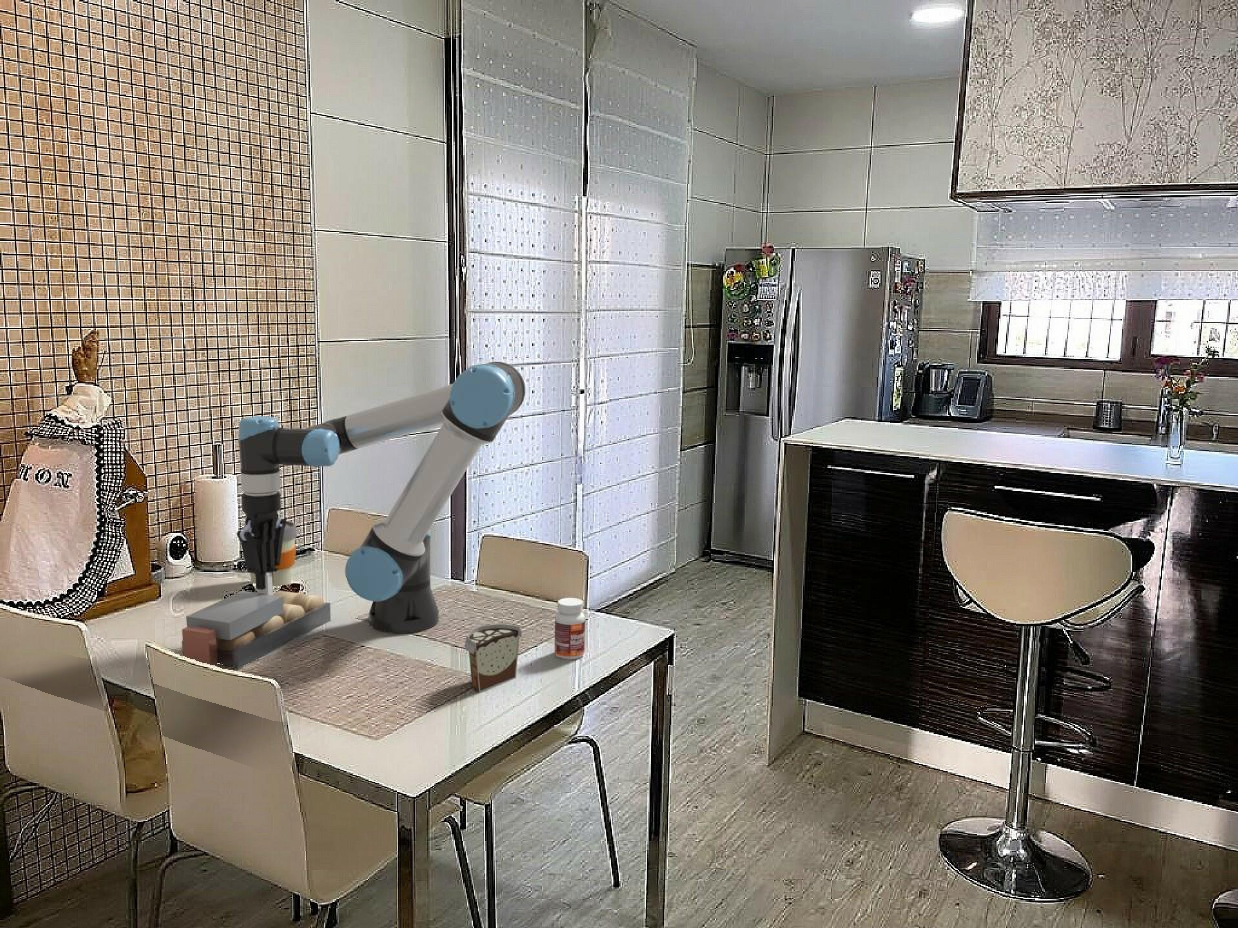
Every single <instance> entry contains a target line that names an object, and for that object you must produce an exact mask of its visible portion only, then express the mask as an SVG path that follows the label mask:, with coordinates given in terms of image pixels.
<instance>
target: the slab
mask: <svg viewBox="0 0 1238 928" xmlns="http://www.w3.org/2000/svg"><path fill="white" fill-rule="evenodd" d="M282 613H284V609H283V596H276V595H269V594H262V593H257V592H254V591H247V590H246V591H245V590H241V591H239V592H237V593H235V594H232V595H230V596H228V597H226V598H223V599H222V600H219V601H217V602H215V603H213V604H210V605H208V606H205V607H204V608H201V609H199V610H197V611H195V612H193V613H190V614H188V615H186V619H185V620H186V627H188V626H194V627H201V628H207V629H214V630H216V638H219V639H226V640H232V639H234V638H235V637H237V636H239V635H241V634H243V633H245V632H247V631H249V630H251V629H253V628H255V627H257V626H259V625H261V624H262V623H264V622H266V621H268V620H270V619H271V618H273V617H274V616H278V615H280V614H282Z"/></svg>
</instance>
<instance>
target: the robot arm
mask: <svg viewBox="0 0 1238 928" xmlns="http://www.w3.org/2000/svg"><path fill="white" fill-rule="evenodd" d="M525 396H526V383H525V380H524V377H522V375H521V373H520V372H519V370H517V368H515V367H514V366H513V365H511V364H509V363H507V362H502V361H490V362H488V363H487V362H486V363H480V364H475V365H472V366H470V367H468V368H467V369H465V370H464V371H462V372H461V373H460V374H459V375H458V376H457V377H456V378H455V380H454V382H453V383H450V384H447V385H444V386H441V387H438V388H434V389H430V390H427V391H423V392H421V393H418V394H414V395H411V396H408V397H404V398H401V399H398V400H394V401H391V402H388V403H385V404H381V405H378V406H373V407H371V408H368V409H365V410H362V411H358V412H355V413H352V414H347V415H346V416H341V417H337V418H333V419H329V420H327V421H324V422H322V423H319V424H315V425H312V426H308V427H305V428H292V427H291V428H288V427H287V428H286V427H280V425H279V421H278V419H277V418H276V417H274V416H267V415H265V416H263V415H258V416H257V415H255V416H246V417H244V418H243V417H242V418H241V420H239V422H238V440H237V441H238V448H239V461H240V462H239V463H240V485H241V486H240V487H241V492H243V493H242V495H241V510H242V513H243V512H244V514H245V516H246V517H245V521H244V524H245V525H244V526H245V528H244V529H243V528H242V530H238V531H237V532H236V536H237V538H238V540H239V542H240V545H241V550H242V554H243V559H244V562H245V566H246V571H247V573H249V574H250V573H254V574H255V576H256V588H257V589H256V593H262V594H269V595H273V594H274V590H273V571H274V572H276V571H277V570H278V568H275V567H276V566H279V565H280V560H281V552H282V543H283V534H284V529H285V526H286V523H287V521H288V520H286V519H283V518H280V517H279V513H278V512H279V511H280V510H281V508H282V502H281V501H282V498H281V495H282V494H281V492H279V491H280V490H281V475H280V473H281V471H280V465H281V466H299V467H301V466H302V467H313V468H320V467H332V466H333V465H334V464H335V463H336V461H337V460H338V457H339V455H342V454H346V453H348V452H349V453H350V452H353V451H356V450H358V449H359V450H360V449H362V448H365V447H368V446H369V447H370V446H373V445H376V444H379V443H383V442H386V441H389V440H394V439H396V438H399V437H405V436H408V435H410V434H413V433H417V432H420V431H424V430H427V429H431V428H435V427H438V426H441V427H440V429H439V430H438V431H437V434H436V435H435V437H434V439H433V440H432V442H431V443H430V445H429V447H428V449H427V450H426V452H425V454H424V455H423V457H422V459H421V460H420V462H419V463H418V465H417V467H416V468H415V470H414V472H413V473H412V475H411V477H410V478H409V480H408V482H407V484H406V485H405V487H404V488H403V490H402V491H401V494H400V495H399V496H398V498H397V499H396V501H395V503H394V505H393V507H392V508H391V510H390V512H389V514H387V516H386V518H385V519H383V520H378V521H376V522H374V524H373V525H372V527H371V529H370V530H369V532H368V533H367V535H366V537H365V539H364V540H363V542H362V544H361V545H360V546H359V548H356V549H355V550H353V552H351V554H350V556H349V557H348V558H347V560H346V563H345V567H344V569H345V570H344V571H345V572H344V574H345V575H344V576H345V578H346V582H347V583H348V586H349V587H350V589H351V590H352V591H353V592H354V593H355V594H356V595H357V596H359V597H360V598H362V599H363V600H366V601H369V602H372V603H371V605H370V609H369V611H368V612H369V613H368V625H369V626H370V627H371V628H372V629H374V630H375V631H380V632H384V633H391V634H406V633H407V634H409V633H415V632H421V631H424V630H428V629H430V628H433V627H434V626H436V625H437V624H438V623H439V620H440V617H439V616H440V614H439V613H440V611H439V608H438V605H437V602H436V599H435V596H434V593H433V590H432V587H431V538H432V535H431V528H432V527H433V525H434V523H435V521H436V520H437V518H438V517H439V515H440V513H441V512H442V510H443V509H444V507H445V505H446V504H447V502H448V500H449V499H450V497H451V496H452V495H453V492H454V490H455V489H456V488H457V486H458V484H459V482H460V481H461V479H462V478H463V476H464V475H465V472H466V471H467V470H468V468H469V467H470V465H471V463H472V462H473V460H474V458H475V456H476V455H477V453H478V452H479V450H480V449H481V447H482V446H483V445H487V444H492V443H493V442H494V441H495V438H496V437H497V435H498V434H499V432H500V431H501V429H502V428H503V426H504V424H505V423H506V421H507V419H508V418H509V416H512V415H513V414H514V413H515V412H517V411H518V410H519V408H520V407H521V406H522V405H523V402H524V400H525Z"/></svg>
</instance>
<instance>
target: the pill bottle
mask: <svg viewBox="0 0 1238 928" xmlns="http://www.w3.org/2000/svg"><path fill="white" fill-rule="evenodd" d="M556 609H557V611H558V612H557V613H556V614H555V616H554V655H555V656H556V657H557V658H559V659H561V660H562V659H563V660H569V661H571V660H577V659H580V658H582V657H584V655H585V650H586V649H585V648H586V646H585V645H586V644H585V640H586V616H585V614H584V613H583V610H584V602H583V600H582V599H580V598H577V597H576V598H575V597H564V598H561V599H559V600H558V601H557V607H556Z"/></svg>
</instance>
